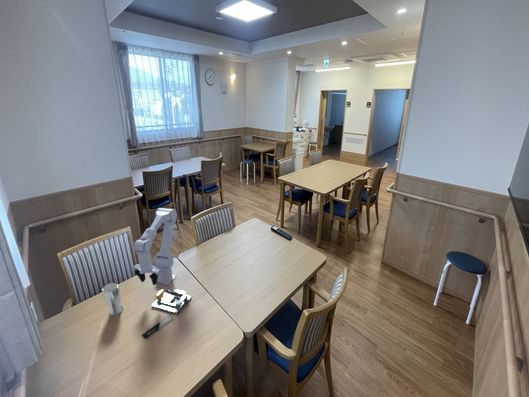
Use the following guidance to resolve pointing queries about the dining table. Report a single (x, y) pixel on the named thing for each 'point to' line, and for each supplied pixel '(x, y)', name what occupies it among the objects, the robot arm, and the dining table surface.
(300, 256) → the dining table surface
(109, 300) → the beer glass
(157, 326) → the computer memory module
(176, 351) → the dining table surface
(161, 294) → the grey orange block
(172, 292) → the heatsink plate
